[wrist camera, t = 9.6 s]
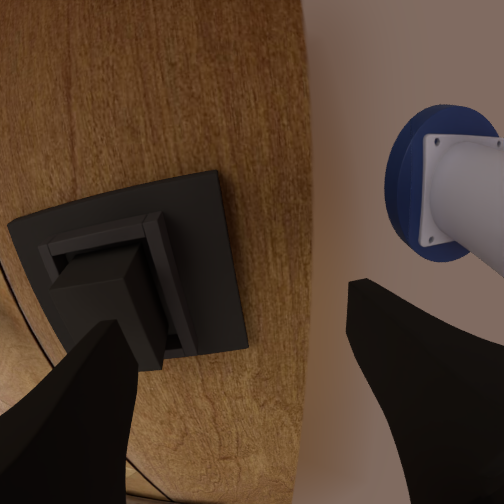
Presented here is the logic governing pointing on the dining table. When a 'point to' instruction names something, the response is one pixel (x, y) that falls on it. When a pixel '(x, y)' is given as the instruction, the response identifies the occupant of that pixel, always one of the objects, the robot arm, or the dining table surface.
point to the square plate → (144, 501)
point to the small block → (114, 300)
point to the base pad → (148, 255)
